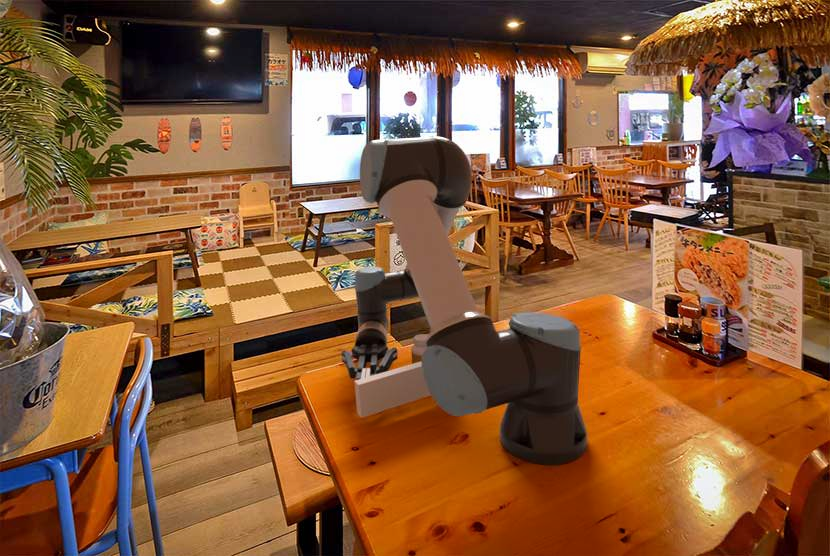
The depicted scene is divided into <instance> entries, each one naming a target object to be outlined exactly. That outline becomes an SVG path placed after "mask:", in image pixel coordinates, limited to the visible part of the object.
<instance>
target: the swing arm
mask: <svg viewBox="0 0 830 556" xmlns="http://www.w3.org/2000/svg"><path fill="white" fill-rule="evenodd" d="M423 371H424V370H423V368H422V363H421V362H417V363H414V364H412V363H411V364H408V365H405V366H404V365H403V366H400V367H398V368H393V369H391V370H390V369H389V370H388V371H386V372H383V373H380V374H376V375H373V376H369V377H366V378H362V379H359V380H356V379H355V380H354V381H353V382H354V391H355V402H356V413H357V415H358V416H359V417H360V418H361V419H362V418H366V417H370V416H371V415H375V414H377V413H380V412H383V411H387V410H390V409H393V408H395V407H399V406H401V405H405V404H408V403H411V402H414V401H417V400H419V399H423V398H426V397H429V396H432V395H431V393H430V391H429V389H428V387H427V385H426V382H425V379H424V376H423Z"/></svg>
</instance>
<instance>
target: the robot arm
mask: <svg viewBox="0 0 830 556" xmlns="http://www.w3.org/2000/svg"><path fill="white" fill-rule="evenodd" d="M472 172H473V171H472V168H471V163H470V160H469V158H468V156H467V155H466V154H465V152H464V150H463V149H462V148H461V147H460V146H459V145H458V144H457V143H456V142H454V141H453V140H451V139H449V138H446V137H443V136H428V137H427V136H424V137H405V138H404V137H403V138H402V137H400V138H399V137H398V138H387V137H384V138H382V139H375V140H370V141H368V142H367V143H366V144H365V145H364V147H363V149H362V152H361V156H360V164H359V185H360V192H361V195H362V198H363V200H364V201H365V202H366V203H370V204H375V203H376V204H377V207H378V209H379V212H380V214H381V215H382V216H383V217H385V218H387V219H390V220H391V223H392V225H393V228H394V230H395V233H396V237H397V239H398V242H399V244H400V247H401V251H402V253H403V255H404V258H405V261H406V266H405V268H404V270H399V271H393V272H387V273H385V271H384V268H382V267H379V266H366V267H362V268H359V269H357V270H356V272H355V274H354V284H355V285H354V290H355V298H356V307H357V308H356V309H357V323H358V327H357V328H358V330H357V334H356V337H355V342H354V346H353V348H351V350H349V351H347V350H345V349H344V350H343V349H342V351H341V353H340V354H341V355H340V356H341V361H342V363H343V364H344V365H345V366H346V369H347V372H348V376H349V378H350V379H355V381H356V380H359V379H362V378H366V377H369V376H373V375H376V374H380V373H383V372H386V371H390V368H391V367H392V364H393V363H394V362H395V361H396V360H398V348H397V347H392V348H390V349H389V347H388V346H387V345H388V329H389V319H388V312H387V311H388V310H387V307H388V306H387V304H388V303H391V302H392V303H393V302H398V301H403V300H404V301H405V300H409V299H415V298H419V301H420V303H421V306H422V309H423V312H424V314H425V317H426V320H427V322H428V323H427V324H428V326H429V328H430V331H429V334H427V335H428V337H427V339H426V344H427V347H428V348H427V349H426V350H425V351H424V352H423V354H422V360H421V363H422V368H423V370H424V371H423V376H424V379H425V382H426V385H427V387H428V389H429V391H430V393H431V395H430V396H432V398H433V399H434V401H435V403H436V404H437V405H438V407H440V408H441V409H442V410H444V412H446V413H447V414H449V415H450V416H455V417H463V416H469V415H472V414H474V415H475V414H480V413H482V412H485V411H487V410H489V409H493V408H496V407H500V406H503V405H506V404H507V405H506V407H505V410H504V413H503V416H502V418H501V421H500V425H499V430H500V431H499V438H500V442H501V444H502V445H503V447H504V449H506V450H507V451H508V452H509V453H511V455H513V456H514V457H517V458H519V459H521V460H523V461H526V462H529V463H533V464H538V465H547V466H549V465H550V466H551V465H562V464H567V463H571V462H573V461H575V460H577V459H579V458H580V457H581V456H583V454H584V453H585V452H586V450H587V445H588V443H587V442H588V431H587V427H586V425H585V424H586V423H585V421H584V419H583V416H582V413H581V409H580V406H579V385H580V382H579V380H580V367H581V366H580V363H581V351H582V346H581V331H580V329H579V327H578V326H577V325H576V324H575V323H574V322H573V321H572V320H569V319H567V318H564V317H562V316H558V315H555V314H551V313H544V312H536V311H535V312H532V311H531V312H528V311H527V312H525V311H524V312H518V313H514V314H513V315H512V316H511V317H510V319H509V322H508V326H509V328H507V329H503V330H496V327H495V325H494V323H493V321H492V318H491V316H489V315H486V314H483V313H482V312H480V311H479V310H478V307H477V305H476V303H475V301H474V298H473V295H472V293H471V291H470V287H469V285H468V283H467V281H466V278H465V276H464V274H463V271H462V269H461V268H462V267H461V266H460V263H459V261H458V258H457V256H456V254H455V250H454V248H453V246H452V244H451V242H450V239H449V235H450V233H451V230H452V227H453V225H454V222H455V219H456V217H457V214H458V212H459V209H460V208H462V207H464V206H465V205H466V203H467V200H468V199H469V196H470V193H471V189H472V182H473V176H472V175H473V174H472ZM353 359H355V360H356V361H358V363H357V367H355V363H354V361H353ZM380 360H381V361H380ZM379 361H380V363H379ZM368 363H369V366H370V367H367V365H368Z"/></svg>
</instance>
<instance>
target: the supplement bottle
mask: <svg viewBox="0 0 830 556" xmlns="http://www.w3.org/2000/svg"><path fill="white" fill-rule="evenodd" d="M428 335H429V334H424V333H419V334H416V335H415V336H414V337H413V345H412V346H411V349H410V350H411V351H410V353H411V364H414V363H417V362H421V360H422V354H423V352H424V351H425V350H426V349H427V348H428V347H427V344H426V339H427V337H428Z"/></svg>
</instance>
